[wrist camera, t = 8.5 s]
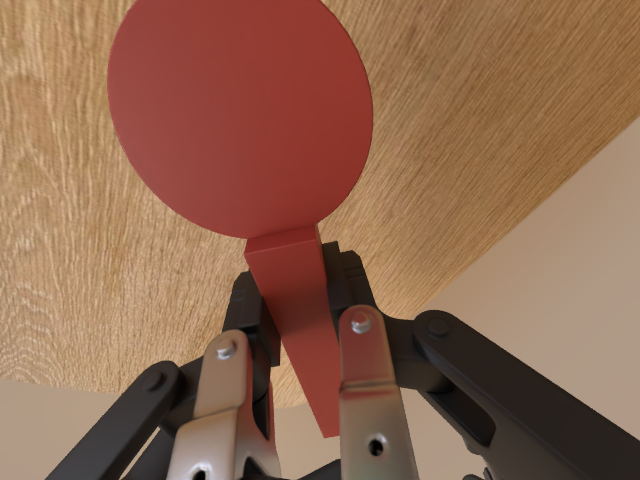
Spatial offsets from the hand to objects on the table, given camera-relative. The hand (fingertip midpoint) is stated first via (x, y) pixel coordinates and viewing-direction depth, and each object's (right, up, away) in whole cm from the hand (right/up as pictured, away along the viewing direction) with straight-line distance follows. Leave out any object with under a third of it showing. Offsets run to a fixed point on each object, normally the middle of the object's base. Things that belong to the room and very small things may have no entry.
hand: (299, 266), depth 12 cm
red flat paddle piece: (0, 0, 0) cm, 1 cm away
